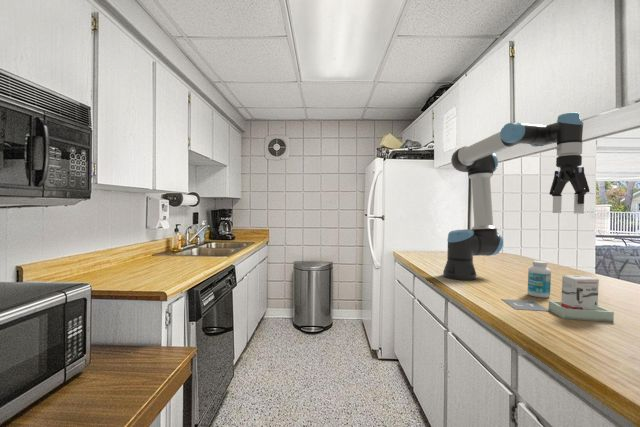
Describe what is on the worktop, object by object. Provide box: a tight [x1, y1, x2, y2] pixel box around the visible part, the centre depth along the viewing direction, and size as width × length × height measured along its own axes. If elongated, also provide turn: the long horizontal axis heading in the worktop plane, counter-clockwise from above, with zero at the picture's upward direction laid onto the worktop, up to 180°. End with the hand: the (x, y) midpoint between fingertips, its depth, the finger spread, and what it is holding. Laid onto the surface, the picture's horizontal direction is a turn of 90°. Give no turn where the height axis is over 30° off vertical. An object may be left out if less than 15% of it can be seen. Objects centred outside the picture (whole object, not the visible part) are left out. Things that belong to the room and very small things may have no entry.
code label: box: [501, 298, 551, 312], centre depth 115 cm, size 12×11×1 cm
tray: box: [548, 300, 615, 323], centre depth 104 cm, size 9×13×3 cm
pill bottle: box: [527, 260, 552, 299], centre depth 128 cm, size 8×7×14 cm
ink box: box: [561, 274, 600, 311], centre depth 104 cm, size 9×5×12 cm, turn 95°
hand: (567, 213), depth 120 cm, fingers open, 13 cm apart
